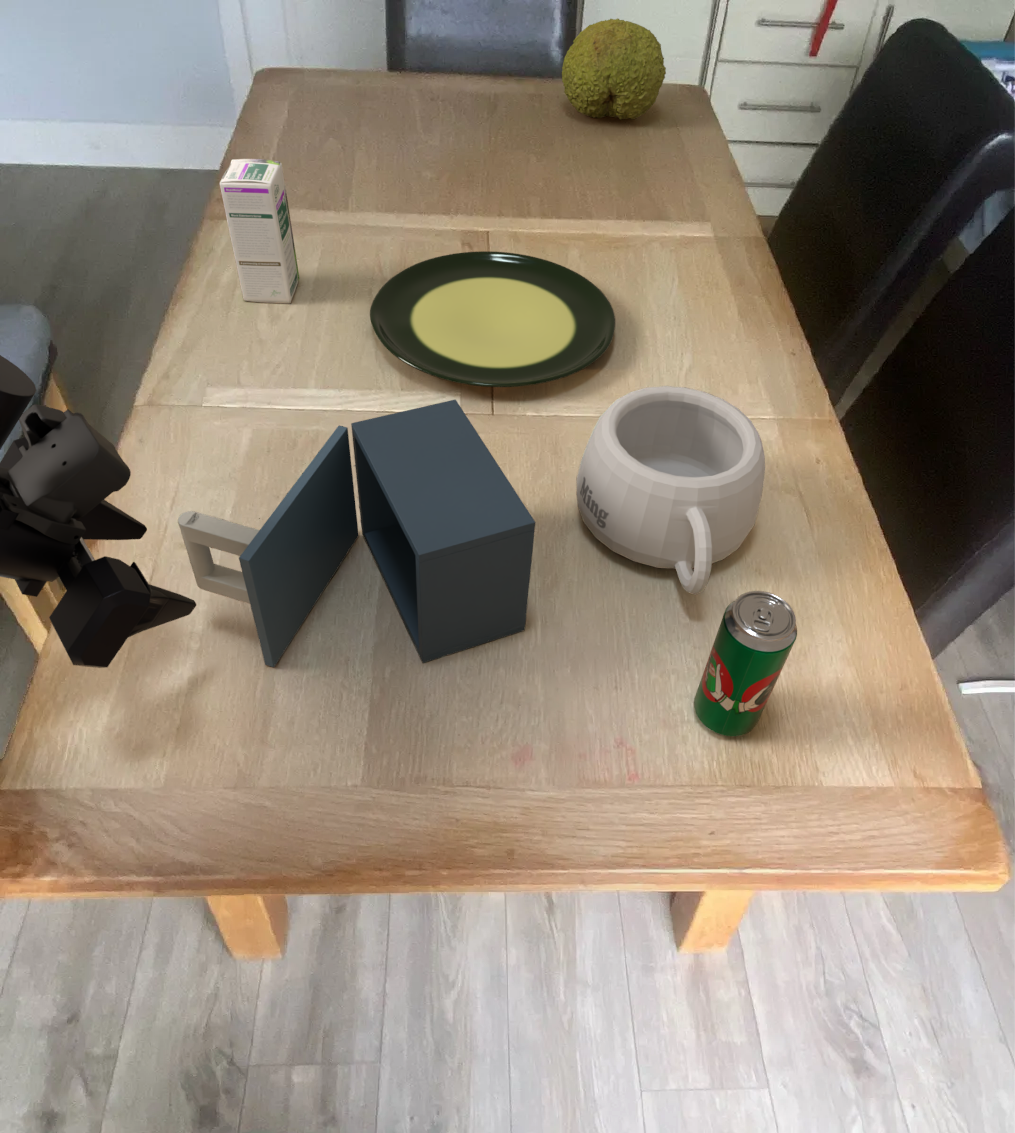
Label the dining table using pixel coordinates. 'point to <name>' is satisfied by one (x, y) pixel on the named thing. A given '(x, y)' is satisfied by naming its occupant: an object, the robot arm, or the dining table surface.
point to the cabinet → (443, 528)
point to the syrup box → (260, 229)
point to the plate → (493, 319)
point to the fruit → (613, 70)
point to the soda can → (745, 662)
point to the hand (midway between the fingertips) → (167, 568)
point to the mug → (672, 480)
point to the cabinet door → (282, 548)
